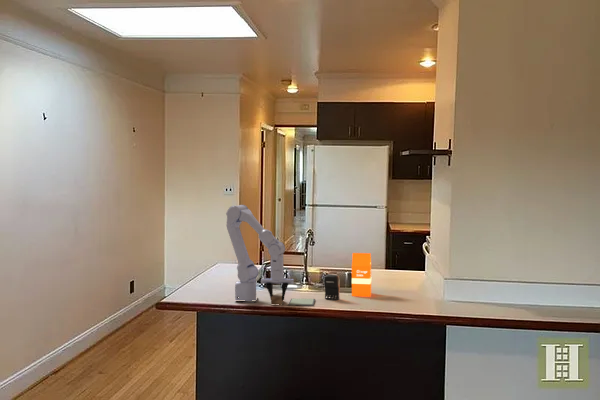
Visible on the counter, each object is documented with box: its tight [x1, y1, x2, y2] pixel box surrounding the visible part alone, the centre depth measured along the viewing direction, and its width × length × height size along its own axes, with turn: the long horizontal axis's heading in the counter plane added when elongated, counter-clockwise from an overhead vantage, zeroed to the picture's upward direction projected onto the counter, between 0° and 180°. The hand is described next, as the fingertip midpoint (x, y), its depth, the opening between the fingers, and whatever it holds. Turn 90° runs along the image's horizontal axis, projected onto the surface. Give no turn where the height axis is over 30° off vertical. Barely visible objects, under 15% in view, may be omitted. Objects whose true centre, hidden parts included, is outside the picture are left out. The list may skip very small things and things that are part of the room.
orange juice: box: [351, 252, 372, 298], centre depth 249 cm, size 8×9×20 cm
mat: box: [288, 298, 316, 307], centre depth 234 cm, size 11×11×1 cm
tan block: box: [270, 292, 284, 306], centre depth 234 cm, size 4×8×4 cm, turn 175°
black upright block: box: [323, 273, 341, 301], centre depth 240 cm, size 7×4×11 cm, turn 64°
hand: (277, 299), depth 234 cm, fingers closed on tan block, 4 cm apart
